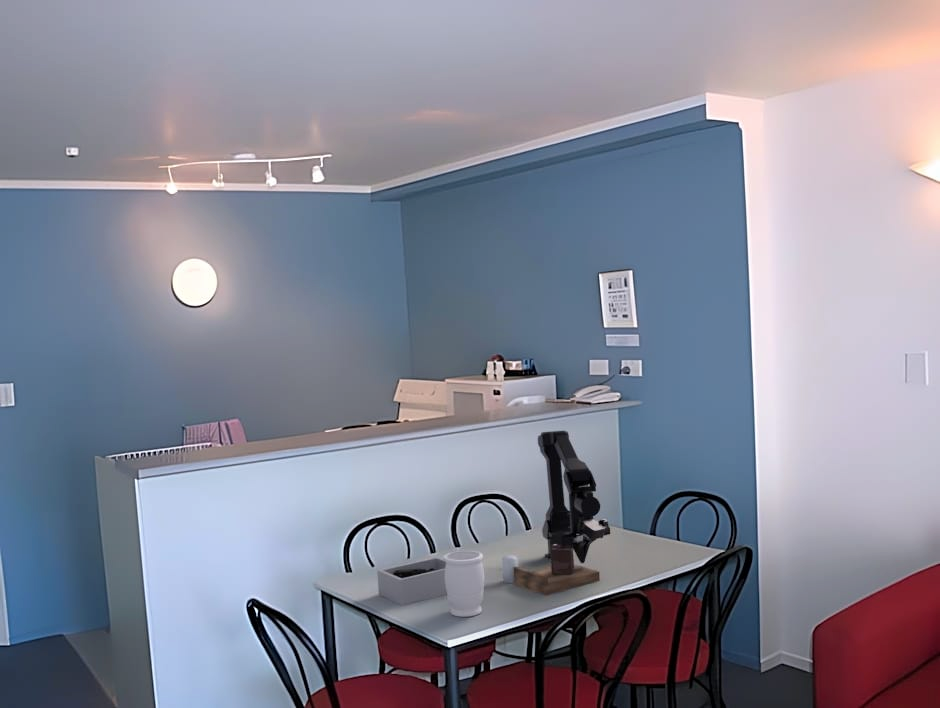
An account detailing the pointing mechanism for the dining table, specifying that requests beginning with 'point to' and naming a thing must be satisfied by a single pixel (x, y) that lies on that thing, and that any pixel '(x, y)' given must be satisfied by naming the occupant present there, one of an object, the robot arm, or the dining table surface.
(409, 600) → the box
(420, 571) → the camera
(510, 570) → the white block
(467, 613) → the jar
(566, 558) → the box
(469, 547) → the dining table surface
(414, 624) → the dining table surface
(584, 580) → the striped wooden slab
